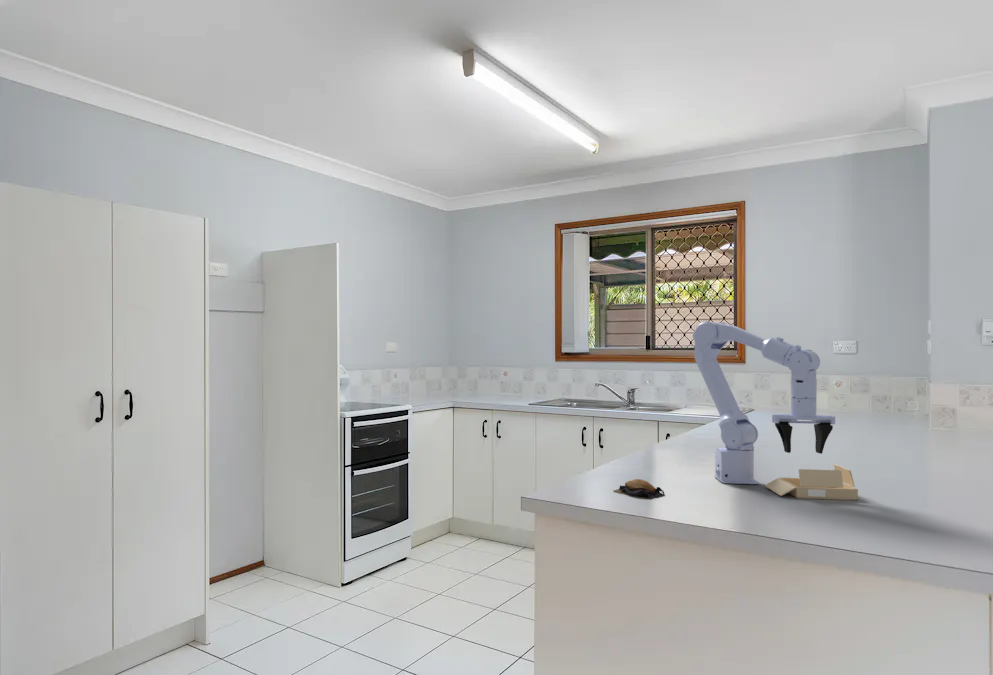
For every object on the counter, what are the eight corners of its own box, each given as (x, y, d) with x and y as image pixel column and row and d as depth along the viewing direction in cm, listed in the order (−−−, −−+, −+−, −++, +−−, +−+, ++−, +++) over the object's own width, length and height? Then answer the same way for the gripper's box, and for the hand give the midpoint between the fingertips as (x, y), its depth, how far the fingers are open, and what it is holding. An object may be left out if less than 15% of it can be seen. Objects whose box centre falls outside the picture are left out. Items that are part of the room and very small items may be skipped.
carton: (780, 497, 146) (781, 487, 146) (758, 483, 161) (758, 474, 161) (858, 500, 145) (858, 489, 145) (828, 486, 160) (828, 476, 160)
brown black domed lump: (610, 494, 150) (610, 479, 150) (631, 488, 156) (631, 474, 156) (648, 502, 142) (648, 486, 142) (668, 496, 148) (668, 481, 148)
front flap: (800, 486, 146) (800, 486, 146) (798, 469, 147) (799, 469, 147) (842, 487, 146) (843, 487, 145) (840, 470, 147) (841, 470, 146)
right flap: (849, 470, 147) (850, 470, 147) (833, 464, 155) (834, 463, 155) (853, 486, 147) (855, 486, 147) (837, 479, 155) (838, 479, 155)
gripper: (780, 398, 149) (779, 454, 149) (841, 400, 148) (841, 456, 148) (769, 396, 156) (768, 449, 156) (827, 397, 155) (827, 451, 155)
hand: (803, 452), depth 152 cm, fingers open, 7 cm apart
